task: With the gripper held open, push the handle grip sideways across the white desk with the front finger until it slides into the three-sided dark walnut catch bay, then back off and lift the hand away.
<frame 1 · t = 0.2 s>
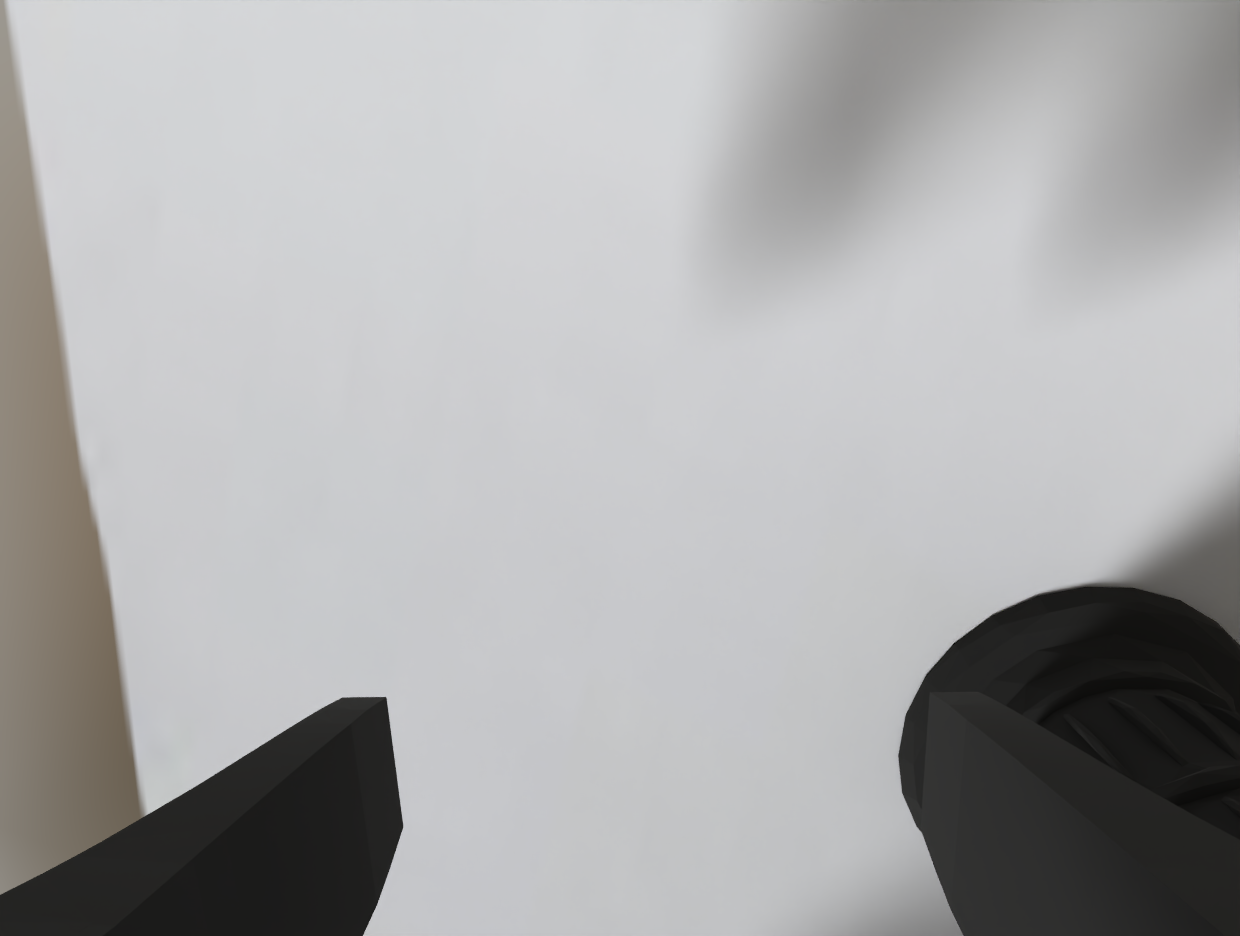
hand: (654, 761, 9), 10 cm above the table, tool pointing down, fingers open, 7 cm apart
handle grip: (1075, 746, 20), on the table
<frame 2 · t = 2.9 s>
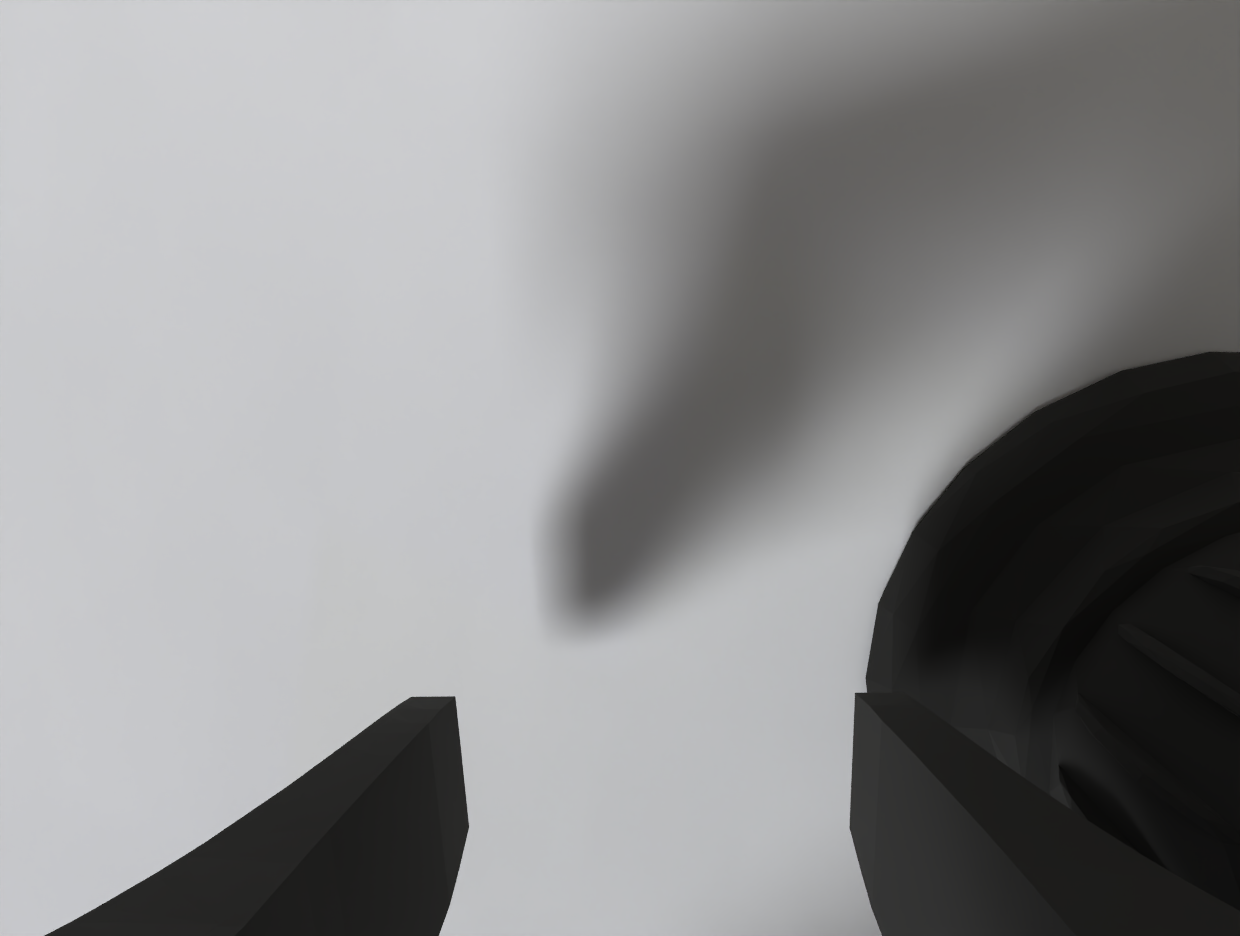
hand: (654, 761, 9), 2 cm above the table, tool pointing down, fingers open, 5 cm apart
handle grip: (1175, 661, 11), on the table, touching gripper
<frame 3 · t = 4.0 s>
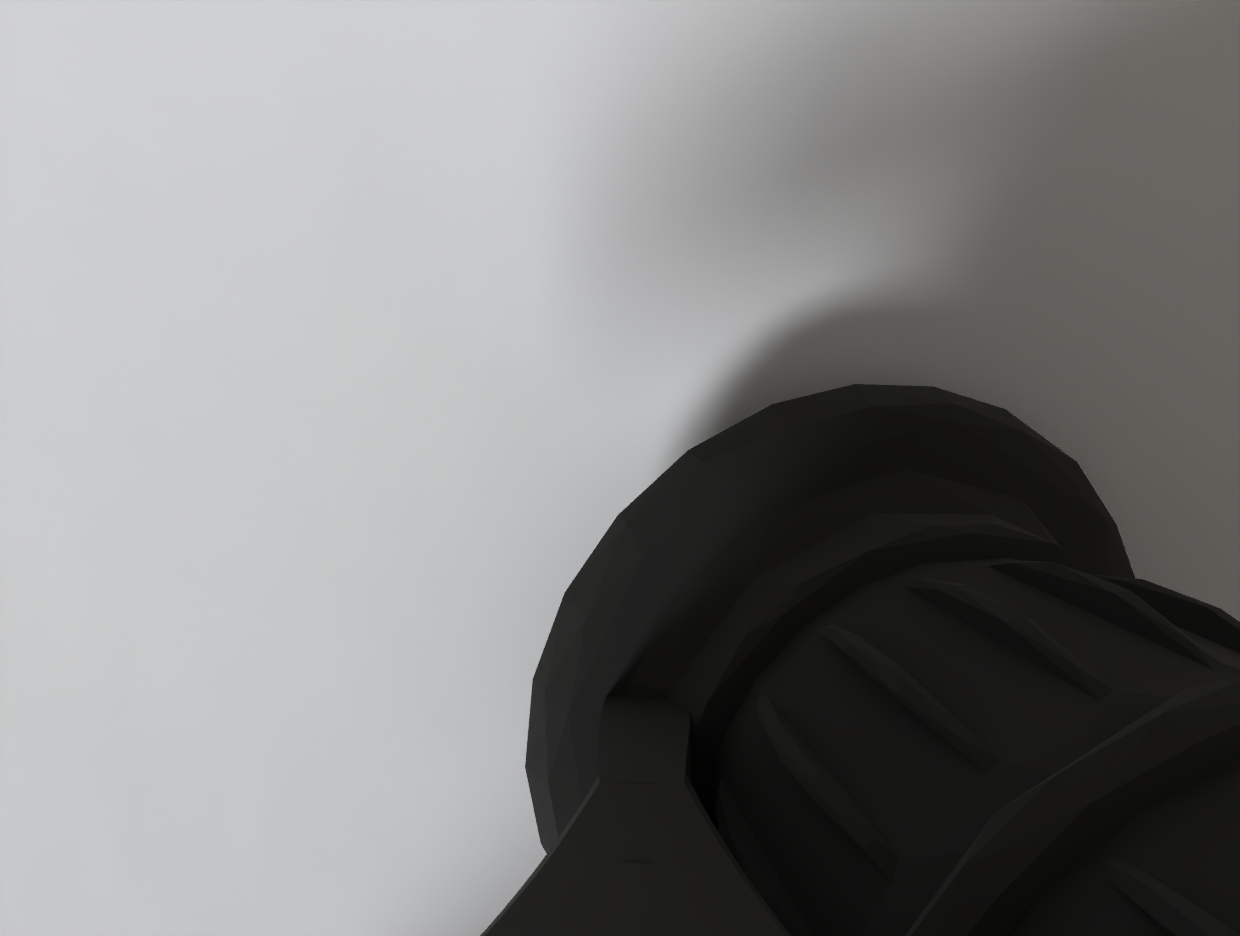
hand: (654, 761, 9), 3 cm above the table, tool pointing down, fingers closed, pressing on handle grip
handle grip: (849, 705, 11), point 1 cm above the table, touching gripper
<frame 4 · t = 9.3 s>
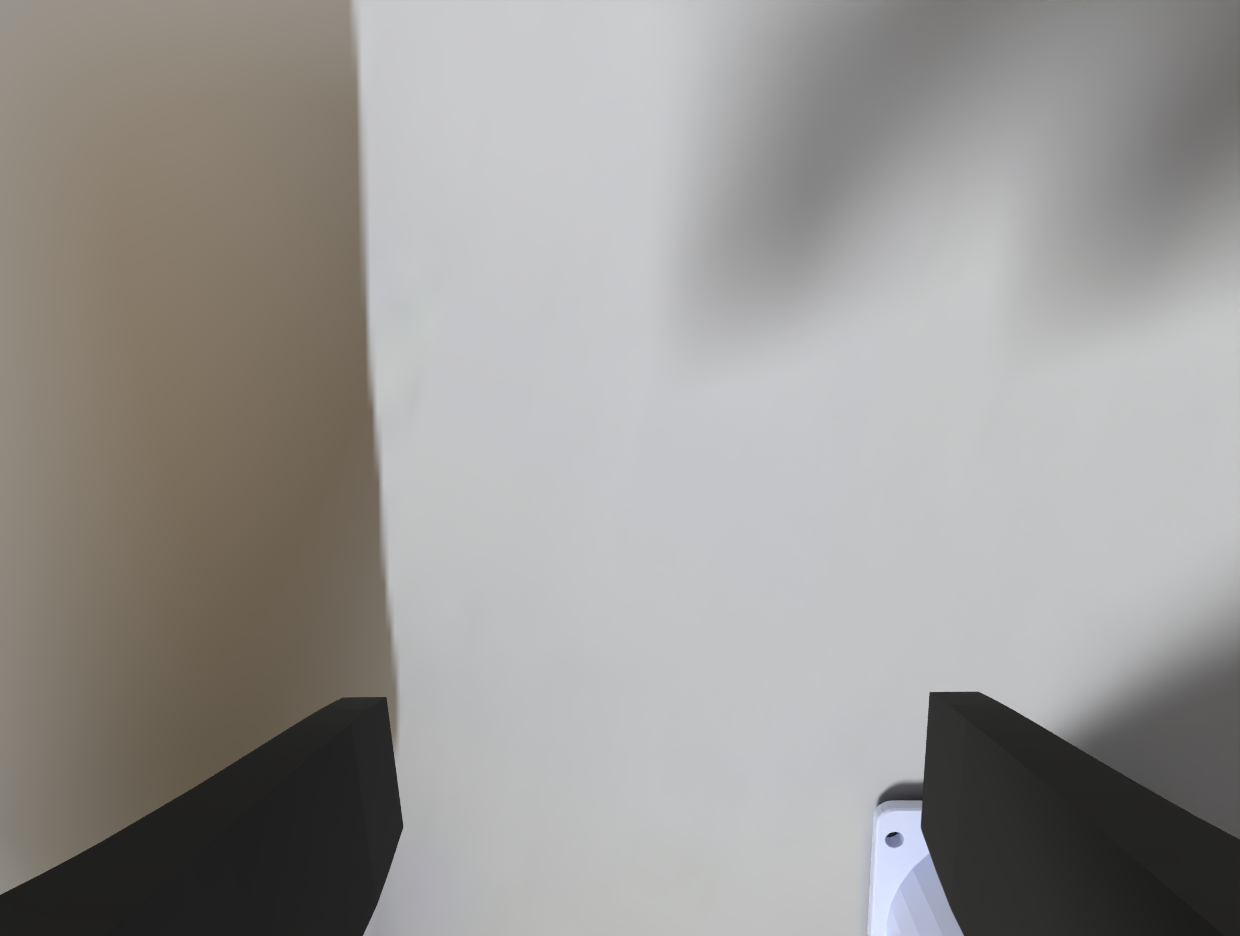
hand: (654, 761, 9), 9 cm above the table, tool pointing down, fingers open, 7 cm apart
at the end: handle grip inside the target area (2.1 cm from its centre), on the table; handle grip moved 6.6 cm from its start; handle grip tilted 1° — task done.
